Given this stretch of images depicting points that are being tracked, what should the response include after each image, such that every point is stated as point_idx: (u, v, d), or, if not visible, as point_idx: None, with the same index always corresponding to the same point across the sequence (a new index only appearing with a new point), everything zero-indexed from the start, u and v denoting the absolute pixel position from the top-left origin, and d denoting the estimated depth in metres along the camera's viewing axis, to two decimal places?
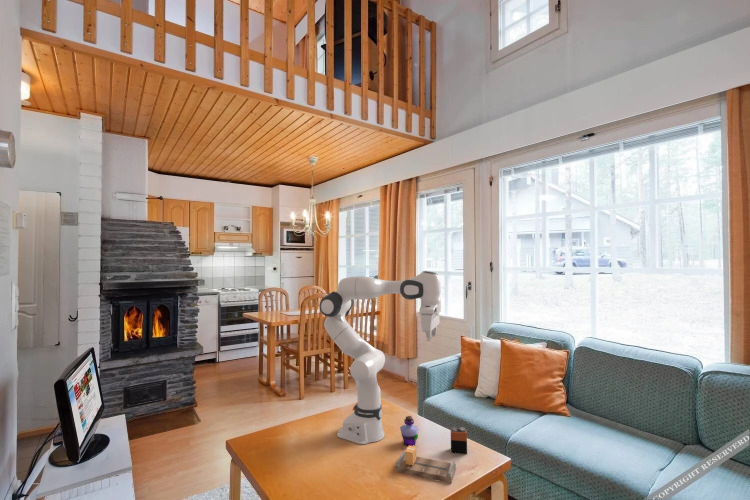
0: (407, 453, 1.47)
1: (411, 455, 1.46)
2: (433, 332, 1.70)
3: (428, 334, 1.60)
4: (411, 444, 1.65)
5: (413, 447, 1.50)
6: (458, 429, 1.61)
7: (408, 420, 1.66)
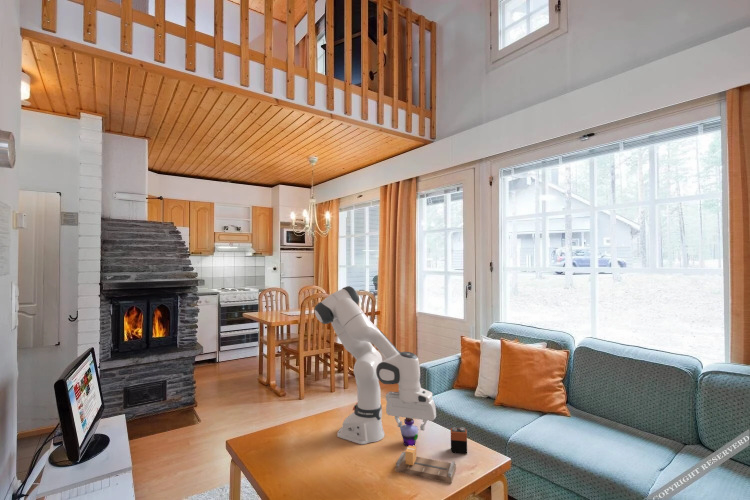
0: (407, 453, 1.47)
1: (411, 455, 1.46)
2: (400, 422, 1.50)
3: None
4: (411, 444, 1.65)
5: (413, 447, 1.50)
6: (458, 429, 1.61)
7: (408, 420, 1.66)
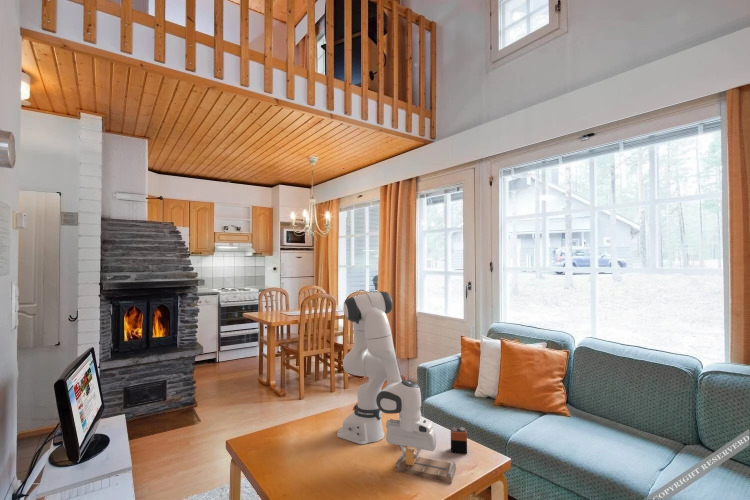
0: (407, 453, 1.47)
1: (411, 455, 1.46)
2: None
3: None
4: None
5: None
6: (458, 429, 1.61)
7: None
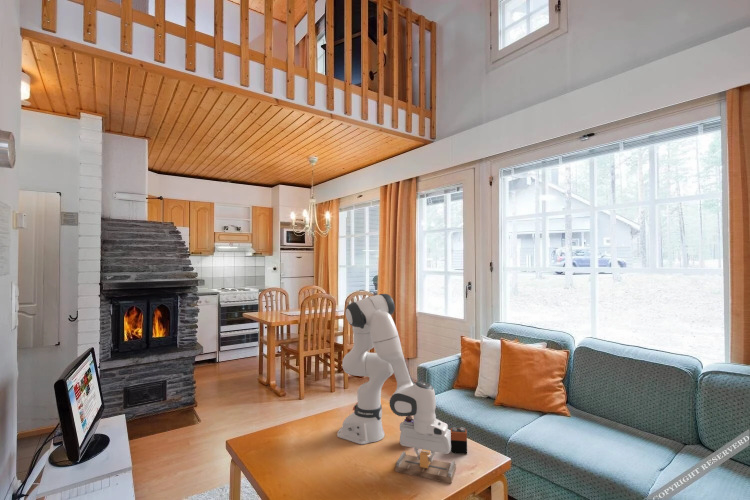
0: (421, 456, 1.45)
1: (426, 458, 1.44)
2: None
3: (434, 453, 1.45)
4: None
5: (427, 450, 1.48)
6: (458, 429, 1.61)
7: (408, 420, 1.66)
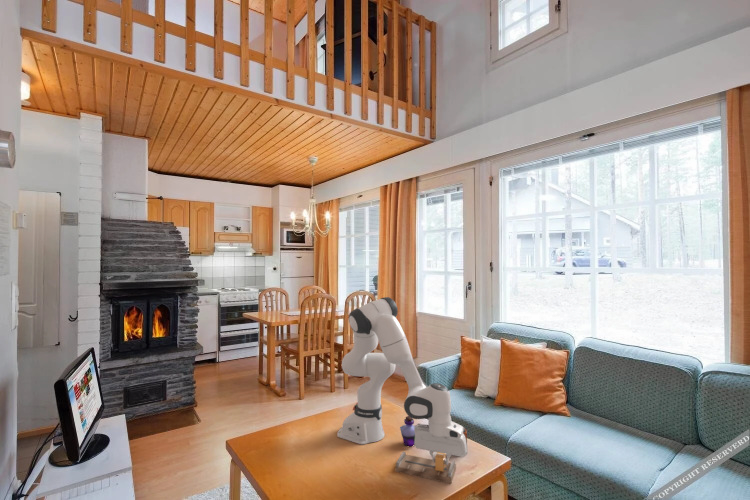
0: (437, 459, 1.42)
1: (441, 461, 1.42)
2: None
3: None
4: (411, 444, 1.65)
5: None
6: None
7: (408, 420, 1.66)
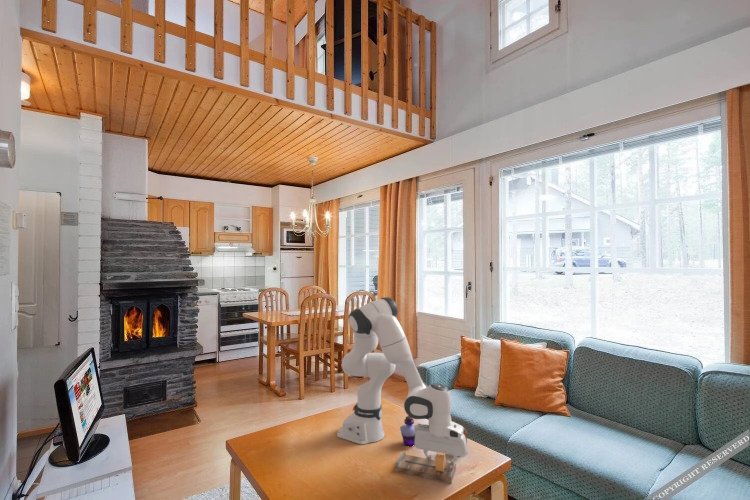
0: (437, 459, 1.42)
1: (441, 461, 1.42)
2: (429, 456, 1.46)
3: (456, 457, 1.42)
4: (411, 444, 1.65)
5: None
6: None
7: (408, 420, 1.66)
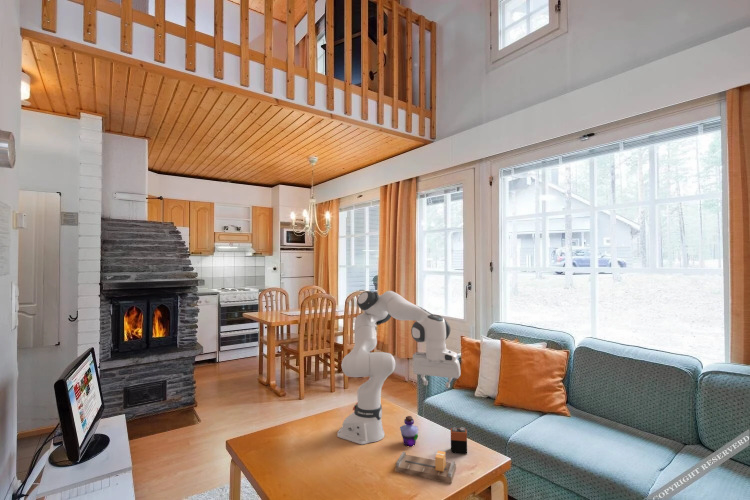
0: (437, 459, 1.42)
1: (441, 461, 1.42)
2: (426, 380, 1.60)
3: None
4: (411, 444, 1.65)
5: (442, 452, 1.46)
6: (458, 429, 1.61)
7: (408, 420, 1.66)
